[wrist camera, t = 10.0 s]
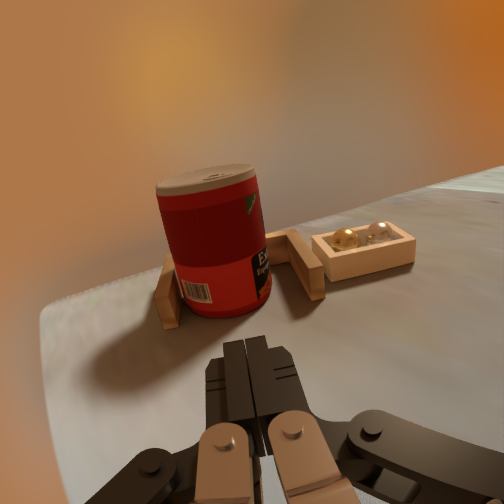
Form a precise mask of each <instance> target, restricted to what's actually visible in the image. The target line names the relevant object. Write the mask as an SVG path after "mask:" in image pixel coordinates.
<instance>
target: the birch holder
mask: <svg viewBox="0 0 504 504" xmlns="http://www.w3.org/2000/svg"><path fill="white" fill-rule="evenodd" d="M265 236H266V243H267V250H268V256H269V263H270V265H275V264H280V263H285V262H290V263H291V265H292V267H293V269H294V271H295V272H296V274H297V276H298V278H299V280H300V281H301V283H302V285H303V287H304V289H305V290H306V292H307V294H308V296H309V298H310V299H311V301H314V300H319V299H323V298H325V282H324V266H323V264H322V263H321V262H320V260H319V259H318V258H317V256H316V255H315V254H314V252H313V251H312V250H311V249H310V247H309V246H308V245H307V243H306V242H305V241H304V240H303V238H302V237H301V236H300V235H299V233H298V232H297V231H296V229H290V230H284V231H279V232H274V233H269V234H265ZM182 296H183V293H182V289H181V286H180V283H179V279H178V276H177V272H176V269H175V265H174V262H173V258H172V255H171V253H168V254H167V256H166V259H165V262H164V265H163V268H162V272H161V275H160V278H159V281H158V285H157V288H156V291H155V295H154V298H153V299H154V302H155V305H156V308H157V310H158V313H159V316H160V319H161V321H162V324H163V327H164V330H165V329H171V328H177V327H178V326H179V318H180V311H181V303H182Z"/></svg>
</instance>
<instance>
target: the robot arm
mask: <svg viewBox="0 0 504 504" xmlns="http://www.w3.org/2000/svg"><path fill="white" fill-rule="evenodd" d="M245 344H246V349H245V345H244V341H243V339H242V340H237V341H232V342H226V343H223V352H224V357H222V358H216V359H211V361H210V362H209V364H208V366H207V368H206V370H205V381H206V430H205V432H204V433H203V434H202V436H201V438H200V440H199V442H197V443H196V444H195V445H193V446H192V447H190V448H187V449H185V450H182V451H179V452H176V453H174V454H171V453H169V452H168V451H166V450H164V449H160V448H150V449H146V450H144V451H142V452H140V453H139V454H138V455H136V456H135V457H134V458H133V459H132V460H131V461H130V462H129V463H128V464H127V465H126V466H125V467H124V468H123V469H122V470H121V471H120V472H119V473H117V474H116V475H115V476H114V477H113V478H112V479H111V480H110V481H109V482H108V483H107V484H106V485H104V486H103V487H102V488H101V489H100V490H99V491H98V492H97V493H96V494H95V495H93V496H92V497H91V498H90V499H89V500H88V501H87V502H86V503H84V504H264V503H263V489H262V477H261V465H260V459H259V457H264V456H266V454H265V449H264V443H265V447H266V450H267V454H268V456H269V455H273V456H274V461H275V465H276V469H277V473H278V476H279V480H280V483H281V486H282V489H283V492H284V496H285V499H286V502H287V504H361V503H360V501H359V499H358V497H357V495H356V492H355V490H354V488H353V487H355V488H357V489H359V490H361V491H364V492H366V493H368V494H370V495H372V496H374V497H376V498H378V499H380V500H383V501H385V502H387V503H389V504H504V453H501V452H497V451H494V450H491V449H487V448H484V447H481V446H477V445H474V444H471V443H468V442H465V441H462V440H459V439H456V438H453V437H450V436H447V435H444V434H442V433H439V432H436V431H433V430H430V429H428V428H425V427H422V426H420V425H417V424H414V423H412V422H409V421H407V420H404V419H402V418H399V417H396V416H394V415H392V414H389V413H387V412H384V411H381V410H367V411H364V412H361V413H359V414H357V415H356V416H355V417H354V418H353V419H352V420H351V422H330V421H325V420H322V419H320V418H318V417H317V416H315V415H314V414H313V413H312V412H311V410H310V409H309V406H308V403H307V400H306V397H305V394H304V391H303V388H302V385H301V382H300V379H299V376H298V374H297V371H296V368H295V365H294V362H293V359H292V356H291V354H290V353H289V352H288V351H287V350H286V349H285V348H284V347H283V346H279V347H275V348H270V349H268V346H267V342H266V338H265V335H263V336H258V337H253V338H247V339H245ZM246 350H247V354H246ZM247 356H248V358H247ZM262 435H263V438H262ZM263 439H264V443H263Z"/></svg>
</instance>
